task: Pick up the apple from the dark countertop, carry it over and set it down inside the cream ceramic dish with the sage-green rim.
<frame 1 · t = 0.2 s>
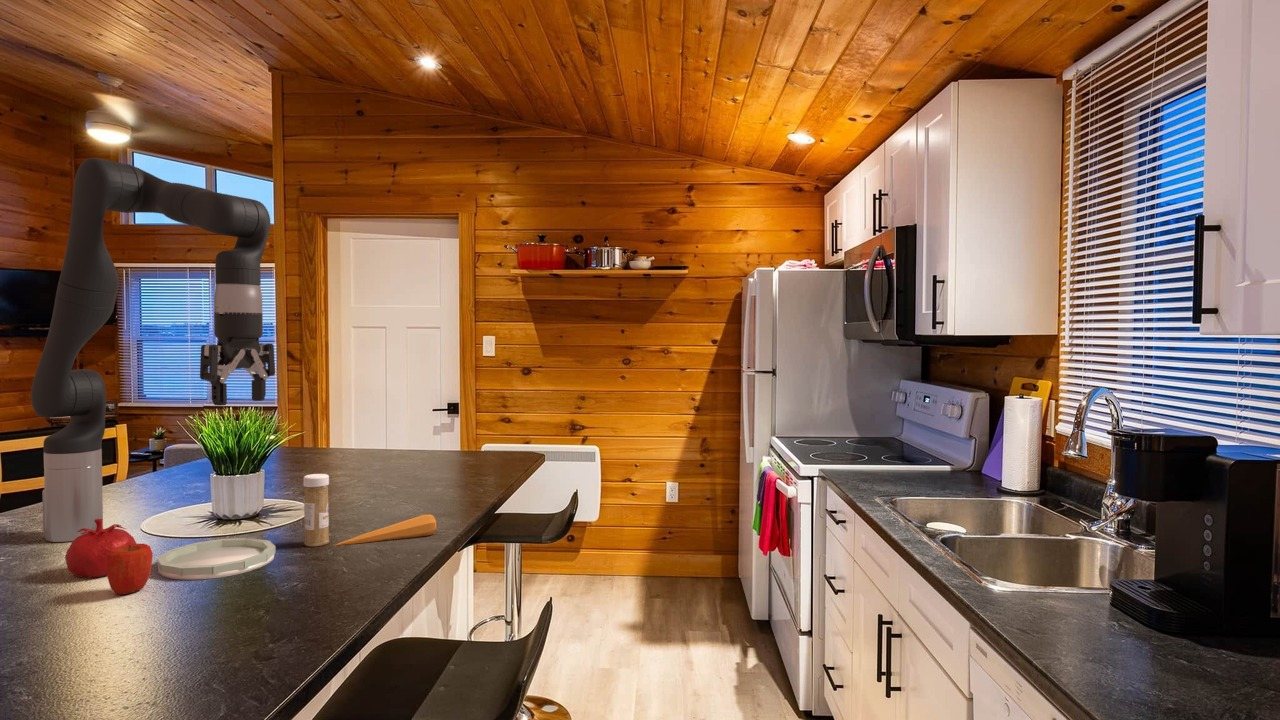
hand: (239, 402, 133), 29 cm above the countertop, fingers open, 8 cm apart
carrot: (386, 540, 150), on the countertop
apple: (129, 593, 119), on the countertop
spice jar: (316, 544, 146), on the countertop
dish: (218, 563, 134), on the countertop
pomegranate: (101, 573, 129), on the countertop
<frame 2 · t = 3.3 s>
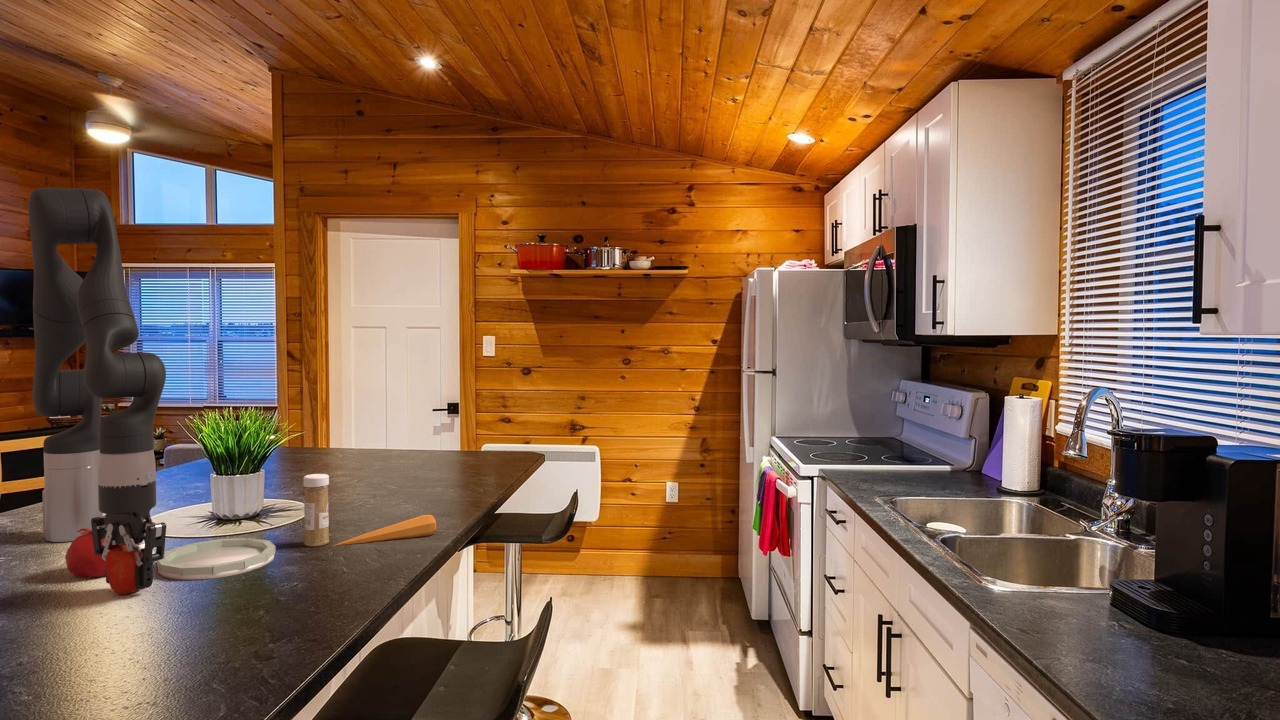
hand: (129, 584, 119), 1 cm above the countertop, fingers closed on apple, 6 cm apart
apple: (129, 593, 119), on the countertop, touching gripper
everything else where it was.
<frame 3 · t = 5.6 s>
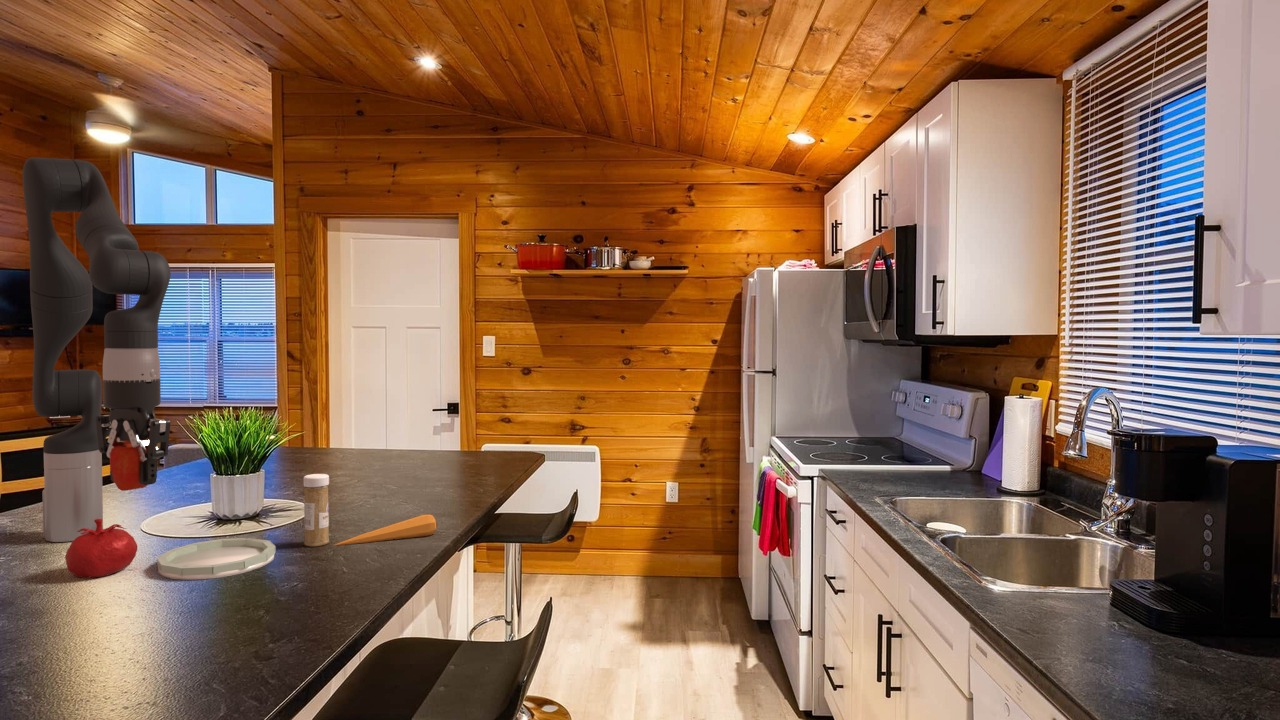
hand: (133, 482, 119), 17 cm above the countertop, fingers closed on apple, 6 cm apart
apple: (133, 490, 119), point 16 cm above the countertop, touching gripper
everything else where it was.
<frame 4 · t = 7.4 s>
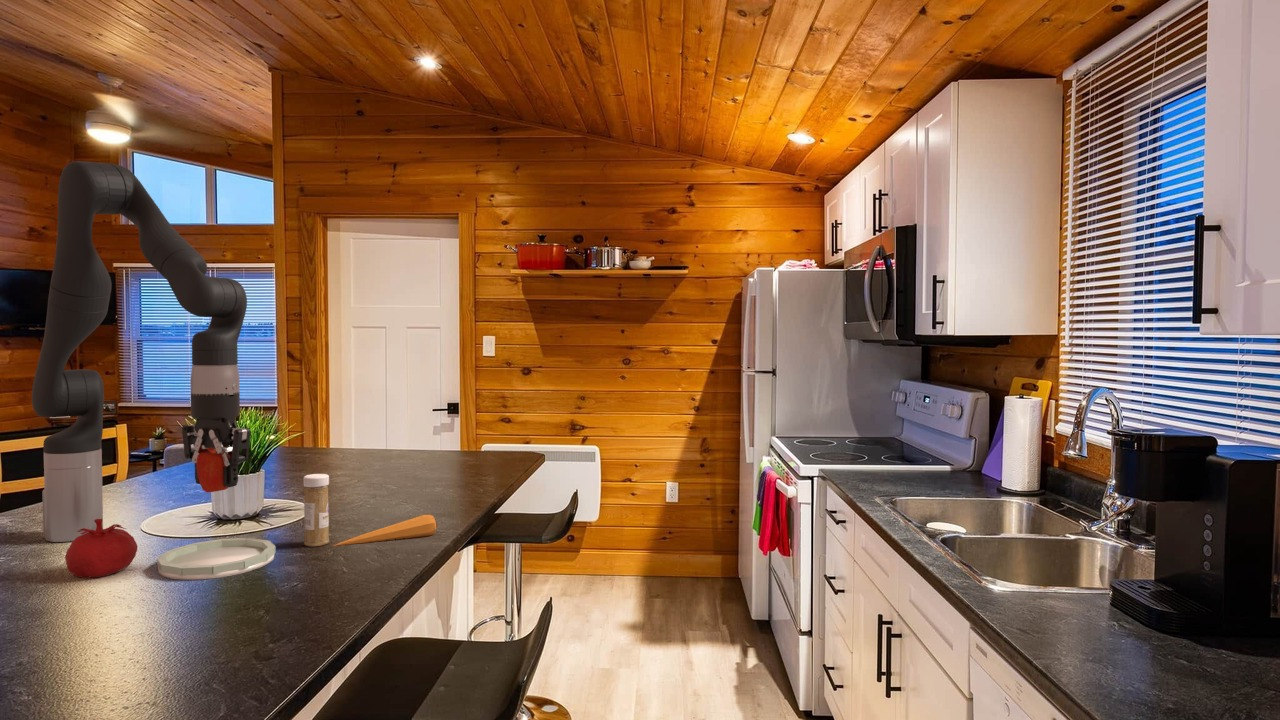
hand: (216, 484, 133), 14 cm above the countertop, fingers closed on apple, 6 cm apart
apple: (216, 492, 133), point 13 cm above the countertop, touching gripper
everything else where it was.
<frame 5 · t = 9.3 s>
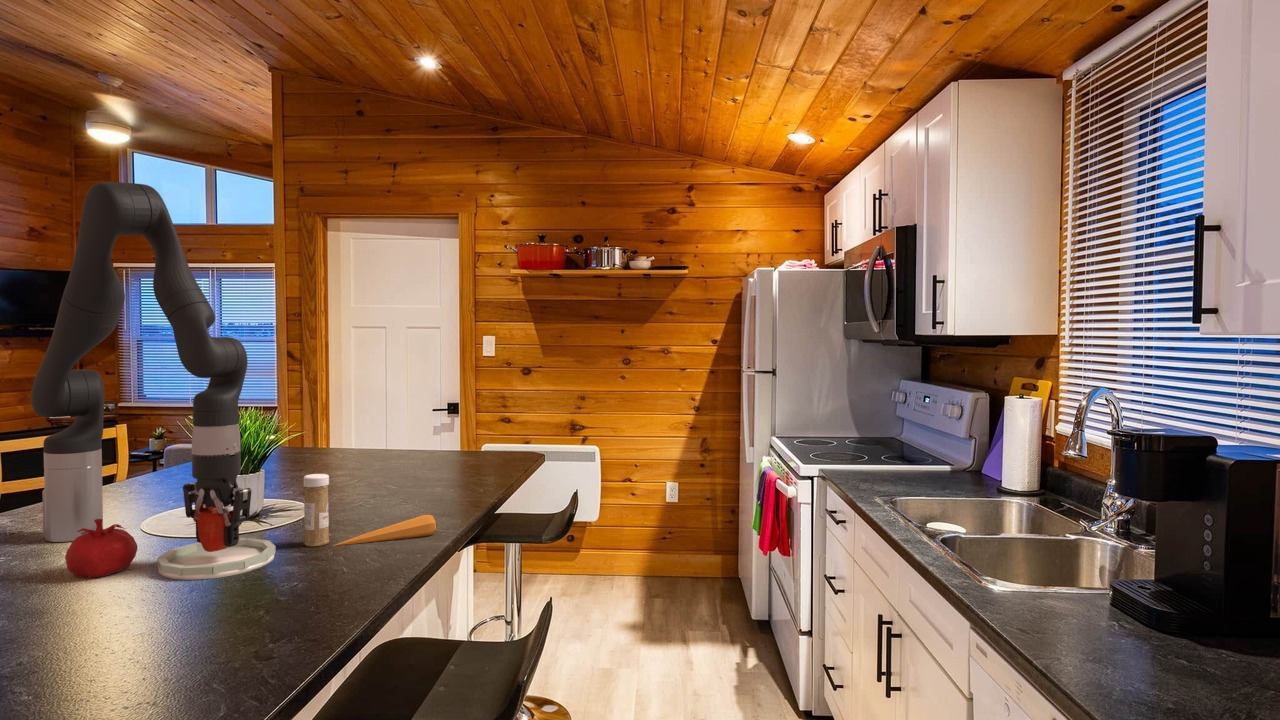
hand: (217, 543, 134), 4 cm above the countertop, fingers closed on apple, 6 cm apart
apple: (217, 551, 134), point 2 cm above the countertop, touching gripper
everything else where it was.
when the fingers open (3 cm above the countertop, at t = 9.7 s): apple drops 2 cm, resting on dish.
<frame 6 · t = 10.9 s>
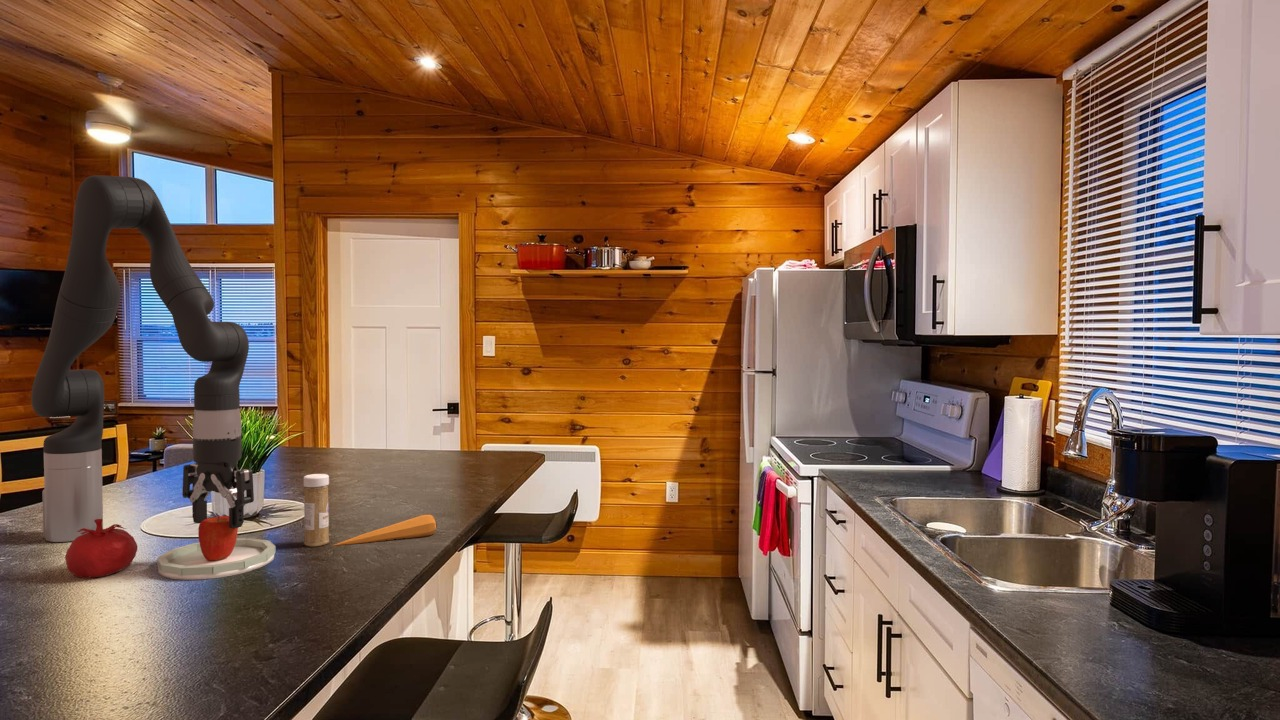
hand: (218, 524, 134), 7 cm above the countertop, fingers open, 8 cm apart
apple: (218, 559, 134), point 1 cm above the countertop, touching dish
everything else where it was.
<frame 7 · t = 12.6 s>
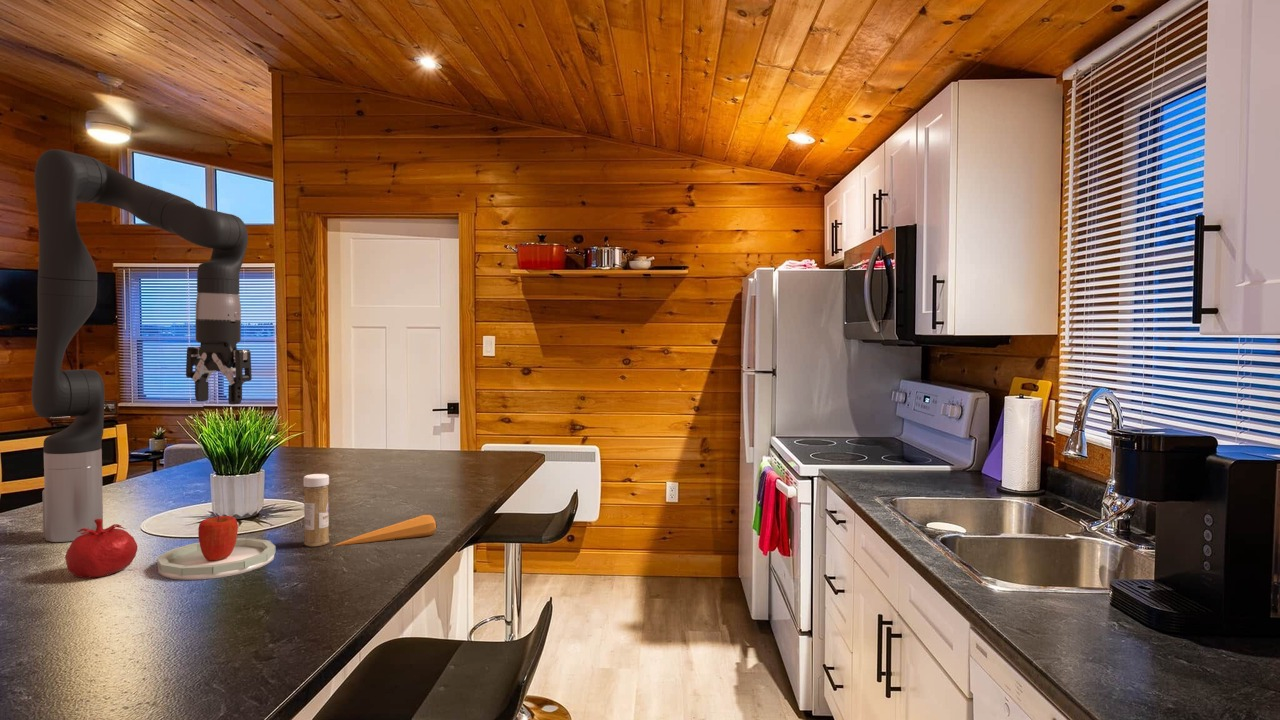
hand: (218, 402, 144), 28 cm above the countertop, fingers open, 8 cm apart
nothing on the countertop moved.
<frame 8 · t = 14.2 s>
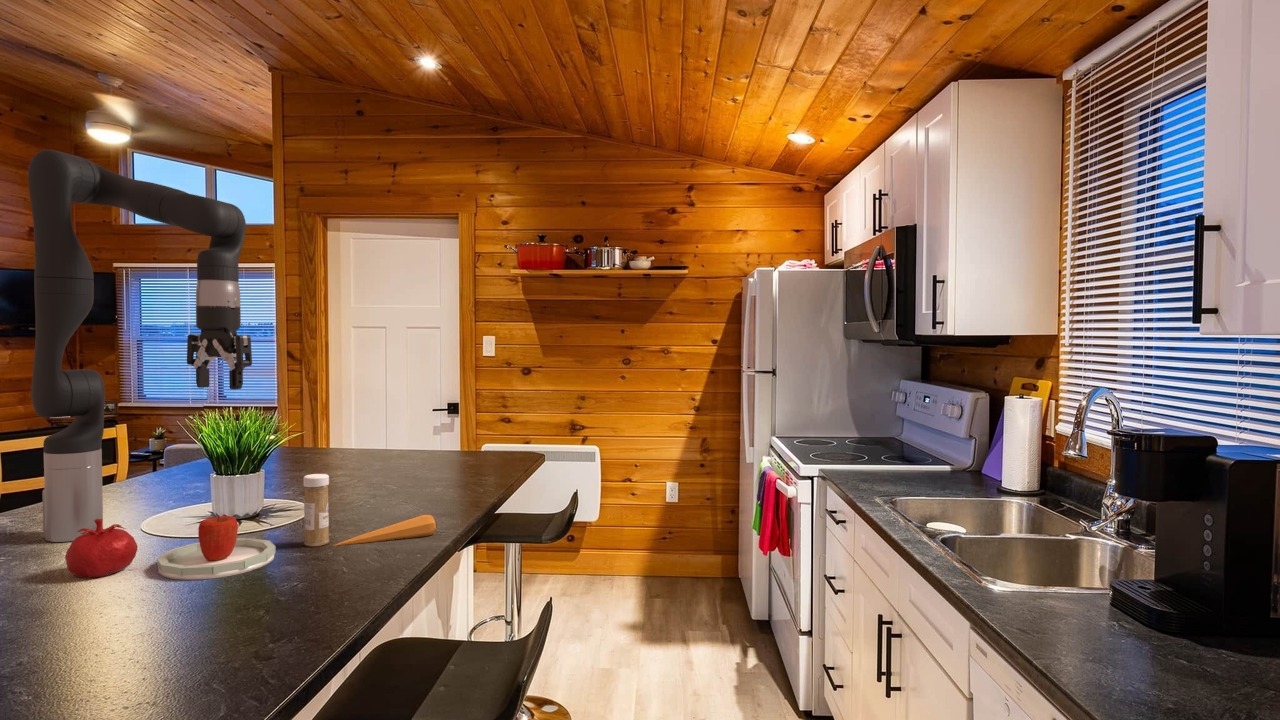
hand: (219, 388, 146), 30 cm above the countertop, fingers open, 8 cm apart
nothing on the countertop moved.
at the end: apple inside the target area on the dish (0.1 cm from its centre), point 0.6 cm above the dish's base; apple touching dish; the gripper is holding nothing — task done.
